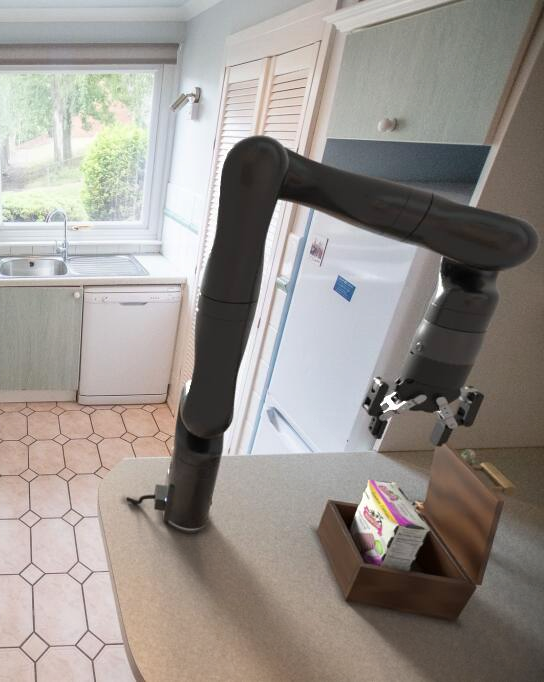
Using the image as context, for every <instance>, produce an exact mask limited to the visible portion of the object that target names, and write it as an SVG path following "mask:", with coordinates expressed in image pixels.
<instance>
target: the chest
mask: <svg viewBox="0 0 544 682" xmlns="http://www.w3.org/2000/svg"><path fill="white" fill-rule="evenodd" d="M358 505H359V503H353V502H347V501H340V500H333V499H328V500H327V502H326V504H325V508H324V510H323V512H322V515H321V518H320V521H319V523H318V526H317V528H316V534H317V536H318V539H319V541H320V544H321V547H322V549H323V552H324V554H325V556H326V558H327V561H328V563H329V565H330V567H331V570H332V573H333V575H334V577H335V579H336V582H337V585H338V587H339V589H340V591H341V594H342V596H343V598H344V602H348V603H354V604H359V605H364V606H369V607H375V608H379V609H385V610H390V611H394V612H401V613H405V614H410V615H415V616H420V617H426V618H430V619H437V620H441V621H446V622H452V623H456V622H457V620H458V619H459V617H460V615H461V614H462V613H463V611H464V609H465V607H466V606H467V604H468V603H469V601H470V599H471V598H472V596H473V595H474V594H475V592H476V590H477V588H478V585H475V584H474V582H473V581H472V580H471V578H470V577H469V575H468V574H467V573H466V571H465V570H464V568H463V567H462V566H461V564H460V563H459V561H458V560H457V559H456V557H455V556H454V555H453V553H452V552H451V550H450V549H449V548H448V546H447V545H446V543H445V542H444V541H443V539H442V538H441V537H440V535H439V534H438V532H437V531H436V530H435V528H434V527H433V526H432V524H431V523H430V521H429V520H428V519H427V517H426V516H425V515H424V514H419V513H418V514H419V515H420V516H421V518H422V519H423V521H424V522H425V523H426V525H427V526H428V527H429V529H430V531H429V532H428V534H427V536H426V538H425V540H424V542H423V544H422V546H421V548H420V550H419V552H418V554H417V556H416V558H415V560H414V562H413V564H412V566H411V568H410V570H409V571H406V570H400V569H394V568H389V567H383V566H377V565H372V564H366V563H364V561H363V559H362V557H361V555H360V553H359V551H358V549H357V547H356V545H355V543H354V541H353V539H352V537H351V535H350V533H349V528H350V526H351V523H352V521H353V518H354V516H355V513H356V511H357V508H358Z"/></svg>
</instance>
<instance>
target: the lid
mask: <svg viewBox="0 0 544 682" xmlns="http://www.w3.org/2000/svg"><path fill="white" fill-rule="evenodd" d="M460 455H461V454H460V453H459V452H458V451H457V450H456V449H455V448H454V447H453V446H452V445H451V444H450V442H449V441H447V442H446V443H445V444H443V445H442V446H441V447H439V446H434V453H433V458H432V463H431V468H430V473H429V480H428V484H427V490H426V495H425V500H424V503H425V505H424V510H423V513H424V514H425V516H426V517H427V518H428V520H429V521H430V523H431V524H432V525H433V527H434V528H435V530H436V531H437V532H438V534H439V535H440V537H441V538H442V539H443V541H444V542H445V544H446V545H447V546H448V548H449V549H450V551H451V552H452V553H453V555H454V556H455V557H456V559H457V560H458V562H459V563H460V564H461V566H462V567H463V569H464V570H465V571H466V573H467V574H468V576H469V577H470V578H471V580H472V581H473V583H474V584H475V585H476V586H482V585H483V581H484V577H485V574H486V570H487V566H488V564H489V559H490V555H491V552H492V550H493V549H492V548H493V545H494V540H495V537H496V533H497V530H498V527H499V523H500V519H501V515H502V512H503V507H504V505H505V500H504V499H503V498H502V497H501V496H500V495H499V494H498V493H502V494H504V495H505V496H509V497H511V496H515V495H516V494H517V493H518V491H519V490H518V488H517V486H515V485H514V484H513V483H512V482H511V481H510V480H509V479H508V478H507V477H505V476H504V474H503V473H502V472H500V470H498V469H497V467H495V466H494V464H492V463H491V462H488V461H483V462H481V463H480V464H478V465H477V464H475V465H469V464H468V463H467V462H466V461H465V460H464V459H463V458H462V457H461V456H460ZM479 472H482V473H483V475H484V476H486V477H487V478H488V480H490V481H491V482H492V484H494V485H490V484H489V483H488V482H487V481H486V480H485V479H484V478H483V477H482V476H481V475H480V474H479Z"/></svg>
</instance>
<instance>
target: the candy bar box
mask: <svg viewBox="0 0 544 682" xmlns="http://www.w3.org/2000/svg"><path fill="white" fill-rule="evenodd" d="M411 502H412V501H410V500H409V498H408V497H407V495H406V494H405V493H404V491H403V490H402V488H401V487H400V486H399V484H398V483H397V482H392V481H384V480H377V479H368V480H367V483H366V485H365V488H364V491H363V493H362V495H361V498H360V500H359V503H358V504H359V505H358V508H357V511H356V513H355V516H354V518H353V521H352V523H351V526H350V528H349V533H350V535H351V537H352V539H353V541H354V543H355V545H356V547H357V549H358V551H359V553H360V555H361V557H362V559H363V561H364V563H366V564H372V565H377V566H383V567H389V568H394V569H400V570H406V571H409V570H410V568H411V566H412V564H413V562H414V560H415V558H416V556H417V554H418V552H419V550H420V548H421V546H422V544H423V542H424V540H425V538H426V536H427V534H428V532H429V531H430V529H429V527H428V526H427V525H426V523H425V522H424V521H423V519H422V518H421V516H420V515H419V514H418V512H417V511H416V509H415V508H414V507H413V505H412V504H411Z"/></svg>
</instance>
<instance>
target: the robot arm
mask: <svg viewBox="0 0 544 682" xmlns="http://www.w3.org/2000/svg"><path fill="white" fill-rule="evenodd" d="M278 201H283V202H286V203H287V202H288V203H292V204H296V205H299V206H302V207H306V208H309V209H311V210H314V211H317V212H319V213H322V214H324V215H327V216H329V217H331V218H334V219H336V220H338V221H340V222H342V223H345V224H347V225H350V226H352V227H354V228H357V229H360V230H363V231H365V232H368V233H371V234H374V235H377V236H380V237H383V238H386V239H389V240H392V241H396V242H399V243H402V244H406V245H410V246H414V247H419V248H421V249H425V250H427V251H428V252H429V251H430V252H432V253H434V254H437V255H439V256H441V258H440V263H439V268H438V274H437V282H436V288H435V289H434V292H433V294H432V296H431V298H430V301H429V303H428V306H427V309H426V311H425V314H424V315H423V318H422V320H421V322H420V323H419V325H418V327H417V328H416V331H415V333H414V335H413V338H412V341H411V344H410V346H409V348H408V350H407V352H406V355H405V358H404V360H403V363H402V366H401V369H400V374H399V377H398V378H396V380H395V381H394V380H393V381H391V380H388V379H387V380H386V379H383V378H382V377H381V376H375V377H374V378H372V382H371V384H370V385H369V387H368V390H367V393H366V394H365V396H364V398H363V401H362V403H361V407H362V409H364V410H365V412H366V414H367V415H368V416H370V417H371V419H370V422H369V424H368V429H367V430H368V431H369V433H370V434H371V436H372V437H373V439H375V440H381V439H382V438H383V435H384V433H385V430H386V428H387V424H388V423H389V421H388V420H389V419H391V418H392V417H394V416H396V415H402V414H403V413H405V412H407V411H408V410H409V411H410V412H411V411H412V412H425V413H428V414H434V412H436V414H437V416H438V418H439V420H436V421H435V423H434V426H433V428H432V431H431V433H430V435H429V439H428V440H429V441H430V443H431V444H432V445H433V446H434V447H436V446H439V447H441V446H442V445H443V444H445V443H446V442H449V439H450V437H451V435H452V433H453V431H454V429H457V427H463V426H464V427H465V428H470V427H471V426H473V425H474V422H475V420H476V418H477V415H478V413H479V410H480V408H481V405H482V403H483V401H484V398H485V395H484V394H483V393H482V392H481V391H479V390H478V389H477V388H476V387H474V386H473V385H467V386H465V385H466V382H467V380H468V378H469V376H470V375H471V372H472V370H473V368H474V366H475V364H476V361H477V359H478V357H479V354H480V353H481V351H482V348H483V346H484V344H485V339H486V335H487V332H488V330H489V329H490V326H491V323H492V321H493V319H494V317H495V315H496V313H497V311H498V308H499V306H500V303H501V299H502V298H501V297H502V296H501V295H502V294H501V292H500V289H499V287H498V278H499V274H500V273H501V272H505V271H511V270H513V269H517V268H520V267H521V266H523V265H524V264H526V263H528V262H529V261H530V260H531V259H532V258H534V256H535V255H536V254H537V252H538V250H539V248H540V244H541V237H540V234H539V231H538V230H537V229H536V227H535V226H534V225H533V224H531V222H529V221H528V220H526V219H523V218H521V217H518V216H515V215H513V214H509V213H506V212H503V211H499V210H494V209H484V208H479V207H476V206H471V205H467V204H464V203H460V202H457V201H454V200H452V199H450V198H448V197H446V196H443V195H441V194H439V193H436V192H431V191H430V190H429V191H428V190H425V189H422V188H418V187H414V186H411V185H407V184H405V183H402V182H401V183H400V182H398V181H397V182H396V181H392V180H389V179H384V178H380V177H376V176H371V175H367V174H362V173H358V172H354V171H350V170H346V169H342V168H338V167H334V166H331V165H328V164H325V163H322V162H320V161H318V160H317V161H316V160H314V159H311V158H309V157H306V156H304V155H302V154H301V153H297V152H295V151H294V150H292V149H290V148H288V147H285V146H284V145H283V144H282V143H281V142H280V141H279V140H277V139H276V138H274V137H271V136H268V135H264V134H256V135H251V136H248V137H244V138H242V139H241V140H238V141H237V142H236V143H235V144H233V145H232V146H231V147H230V148H229V149H228V150H227V152H225V154H224V156H223V158H222V160H221V162H220V166H219V170H218V198H217V213H216V221H215V222H216V223H215V231H214V235H213V240H212V244H211V247H210V249H209V253H208V256H207V258H206V259H207V260H206V263H205V267H204V270H203V274H202V278H201V283H200V287H199V293H198V298H197V303H196V312H195V322H194V340H193V341H194V345H193V346H194V361H193V370H192V374H191V378H190V379H189V380H187V381H186V382H185V383H184V385H183V387H182V389H181V391H180V396H179V400H178V401H179V402H178V406H177V407H178V408H177V415H176V421H175V427H174V437H173V446H172V451H171V457H170V463H169V468H168V469H167V470H166V476H165V483H164V484H155V487H154V493H153V494H144V495H141V496H140V497H139V498H138V499H134V498H132V497H128V496H127V497H126V502H128V503H131V504H134V505H140V504H142V503H143V501H144V500H153V502H154V503H153V507H154V510H156V511H161V514H162V523H164V524H168V525H169V526H171V527H172V528H174V529H176V530H177V531H181V532H184V533H198V532H201V531H203V530H205V528H206V527H207V525H208V522H209V516H210V515H209V514H210V510H211V506H212V504H213V497H214V492H215V488H216V483H217V478H218V474H219V469H220V466H221V461H222V456H223V453H224V441H225V440H224V439H225V433H226V432H227V430H229V428H231V425H232V423H233V421H234V415H235V401H236V391H237V383H238V377H239V371H240V369H241V365H242V362H243V358H244V356H245V352H246V350H247V346H248V341H249V338H250V335H251V331H252V328H253V324H254V321H255V316H256V312H257V309H258V305H259V299H260V296H261V289H262V284H263V283H262V281H263V276H264V275H263V274H264V267H265V266H264V264H265V251H266V244H267V243H266V242H267V238H268V233H269V229H270V225H271V222H272V219H273V216H274V214H275V210H276V207H277V204H278ZM464 386H465V387H464ZM391 391H393V392H392V393H391V394H390V392H391ZM458 399H459V402H458V404H457V407H456V409H455V411H454V412H453V410H452V409H451V407H450V404H451V403H453V402H455V401H456V400H458ZM398 401H399V402H400V403H398V404H397V402H398Z"/></svg>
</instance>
